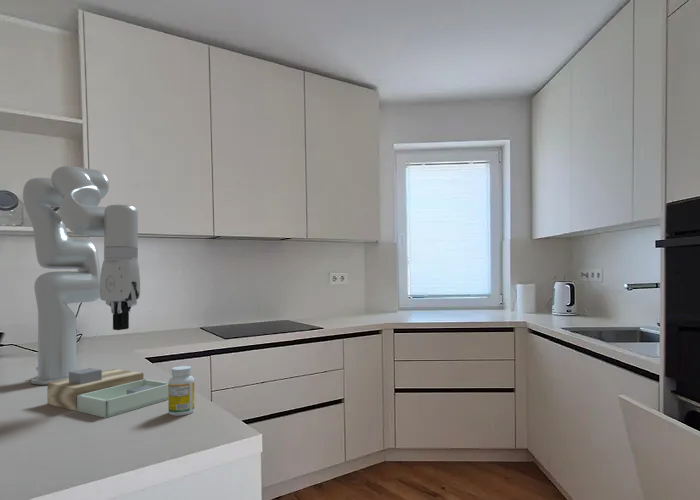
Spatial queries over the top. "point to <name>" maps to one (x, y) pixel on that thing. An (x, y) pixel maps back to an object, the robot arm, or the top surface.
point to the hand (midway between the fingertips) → (120, 329)
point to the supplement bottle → (181, 391)
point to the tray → (121, 398)
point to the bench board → (87, 387)
